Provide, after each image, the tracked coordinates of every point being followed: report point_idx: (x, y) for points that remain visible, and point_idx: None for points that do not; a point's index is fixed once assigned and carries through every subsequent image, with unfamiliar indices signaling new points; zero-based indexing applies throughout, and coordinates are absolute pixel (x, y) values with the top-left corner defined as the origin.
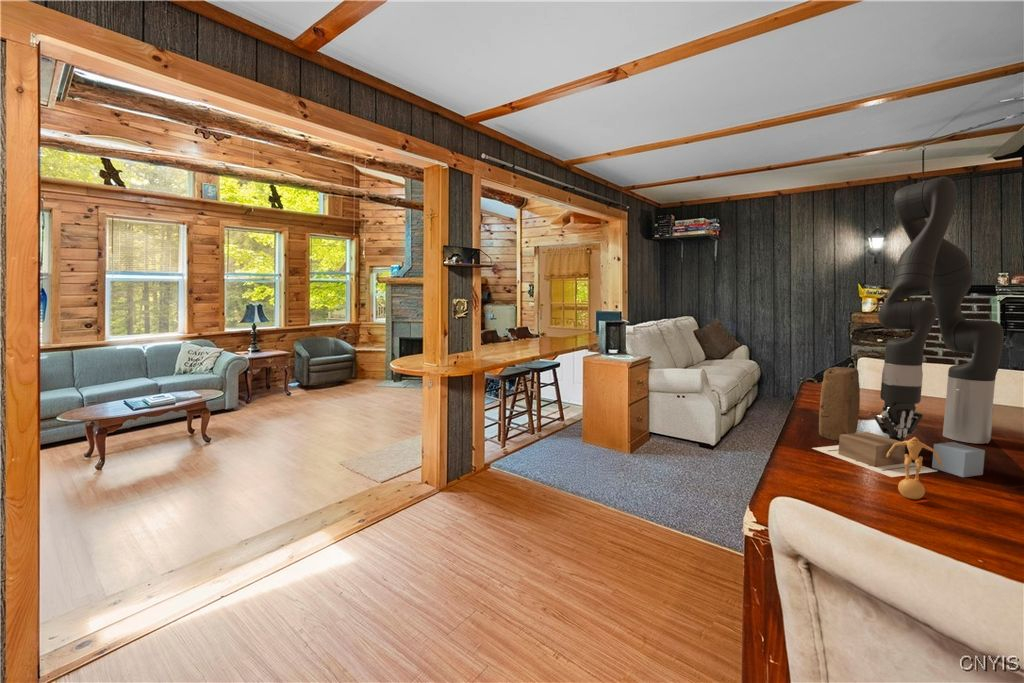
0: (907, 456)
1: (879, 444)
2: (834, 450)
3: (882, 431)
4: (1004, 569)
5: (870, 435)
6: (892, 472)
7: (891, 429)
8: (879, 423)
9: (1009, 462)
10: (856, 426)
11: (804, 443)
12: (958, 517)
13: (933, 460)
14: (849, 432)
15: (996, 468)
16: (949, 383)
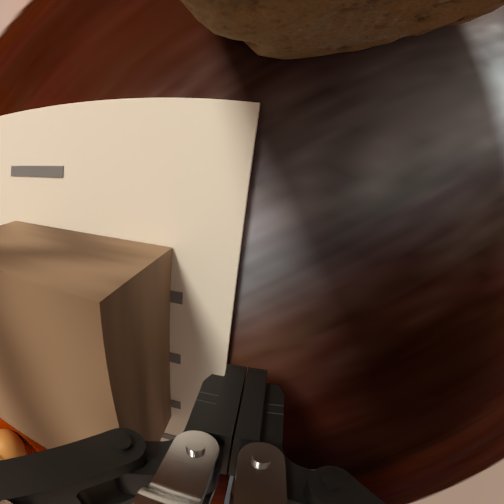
0: None
1: (9, 418)
2: (33, 175)
3: (103, 434)
4: None
5: (49, 357)
6: None
7: (94, 496)
8: (17, 469)
9: (501, 456)
10: (449, 13)
11: (46, 34)
12: None
13: (227, 488)
14: (265, 37)
15: (422, 486)
16: None
